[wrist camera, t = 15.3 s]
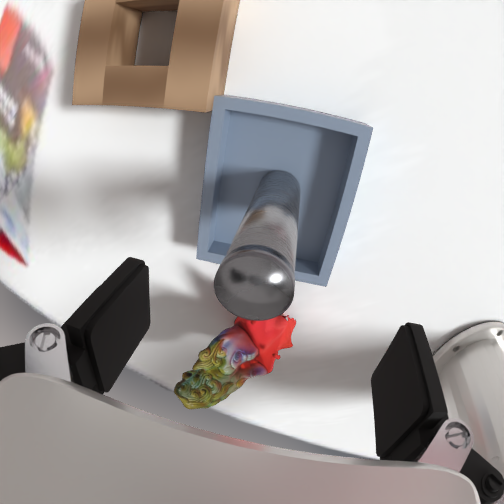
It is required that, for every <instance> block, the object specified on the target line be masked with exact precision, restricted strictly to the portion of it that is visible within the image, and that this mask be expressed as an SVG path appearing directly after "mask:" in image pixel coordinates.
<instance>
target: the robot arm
mask: <svg viewBox="0 0 504 504" xmlns="http://www.w3.org/2000/svg"><path fill="white" fill-rule="evenodd" d="M149 326H150V300H149V268H148V266H146V265H145V262H144V261H143V260H139V259H136V258H132V257H129V258H127V259H126V260H125V261H124V262H123V263H122V264H121V265H120V266H119V267H118V268H117V269H116V270H115V271H114V272H113V273H112V274H111V275H110V276H109V277H108V278H107V279H106V280H105V281H104V282H103V284H102V285H100V286H99V287H98V288H97V289H96V290H95V291H94V292H93V293H92V294H91V295H90V296H89V297H88V298H87V299H86V300H85V301H84V303H83V304H82V305H81V306H80V307H79V308H78V309H77V310H76V311H75V312H74V313H73V314H72V315H71V317H70V318H69V319H68V320H67V321H66V322H65V323H64V324H63V325H62V327H61V328H60V327H59V326H57V325H55V324H50V323H47V324H41V325H38V326H36V327H34V328H33V329H31V330H30V331H29V333H28V334H27V336H26V340H25V343H20V344H15V345H10V346H5V347H0V504H504V323H501V322H488V323H482V324H479V325H476V326H473V327H471V328H469V329H467V330H465V331H463V332H461V333H460V334H458V335H456V336H455V337H453V338H452V339H451V340H449V341H448V342H447V343H445V344H444V345H443V346H442V347H441V348H440V349H439V350H438V351H437V352H436V353H435V355H434V356H432V353H431V350H430V347H429V344H428V341H427V338H426V335H425V332H424V329H423V326H422V325H419V324H414V323H409V322H408V323H406V324H405V325H402V326H401V327H400V328H399V330H398V332H397V334H396V335H395V337H394V339H393V341H392V342H391V344H390V346H389V348H388V349H387V351H386V353H385V355H384V356H383V358H382V360H381V361H380V363H379V365H378V366H377V368H376V369H375V371H374V373H373V375H372V378H371V386H372V396H373V408H374V421H375V437H376V454H377V456H378V457H380V460H373V459H361V458H349V457H339V456H330V455H322V454H315V453H308V452H301V451H295V450H289V449H283V448H277V447H272V446H267V445H262V444H258V443H253V442H248V441H244V440H240V439H236V438H231V437H227V436H223V435H220V434H216V433H212V432H209V431H205V430H202V429H198V428H194V427H191V426H187V425H185V424H181V423H178V422H175V421H172V420H169V419H166V418H163V417H160V416H157V415H154V414H152V413H149V412H146V411H143V410H141V409H138V408H135V407H133V406H130V405H127V404H124V403H122V402H119V401H117V400H114V399H112V398H110V397H107V396H105V395H103V393H104V392H109V391H110V389H111V388H112V386H113V384H114V383H115V381H116V380H117V378H118V376H119V375H120V373H121V371H122V370H123V368H124V367H125V365H126V363H127V362H128V360H129V359H130V357H131V356H132V354H133V352H134V351H135V349H136V348H137V346H138V345H139V343H140V341H141V340H142V338H143V337H144V335H145V334H146V332H147V331H148V329H149Z"/></svg>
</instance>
